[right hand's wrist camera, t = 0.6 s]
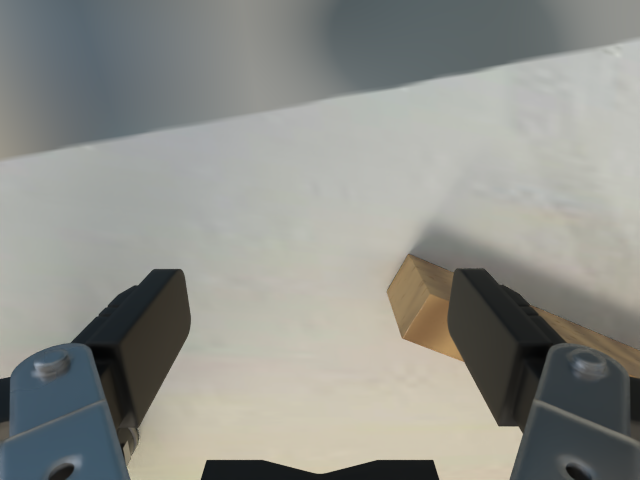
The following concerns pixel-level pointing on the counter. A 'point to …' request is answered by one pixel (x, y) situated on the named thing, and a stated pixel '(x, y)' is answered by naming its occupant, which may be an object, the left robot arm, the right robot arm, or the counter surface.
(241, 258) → the counter surface
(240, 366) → the counter surface
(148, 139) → the counter surface
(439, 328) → the post
